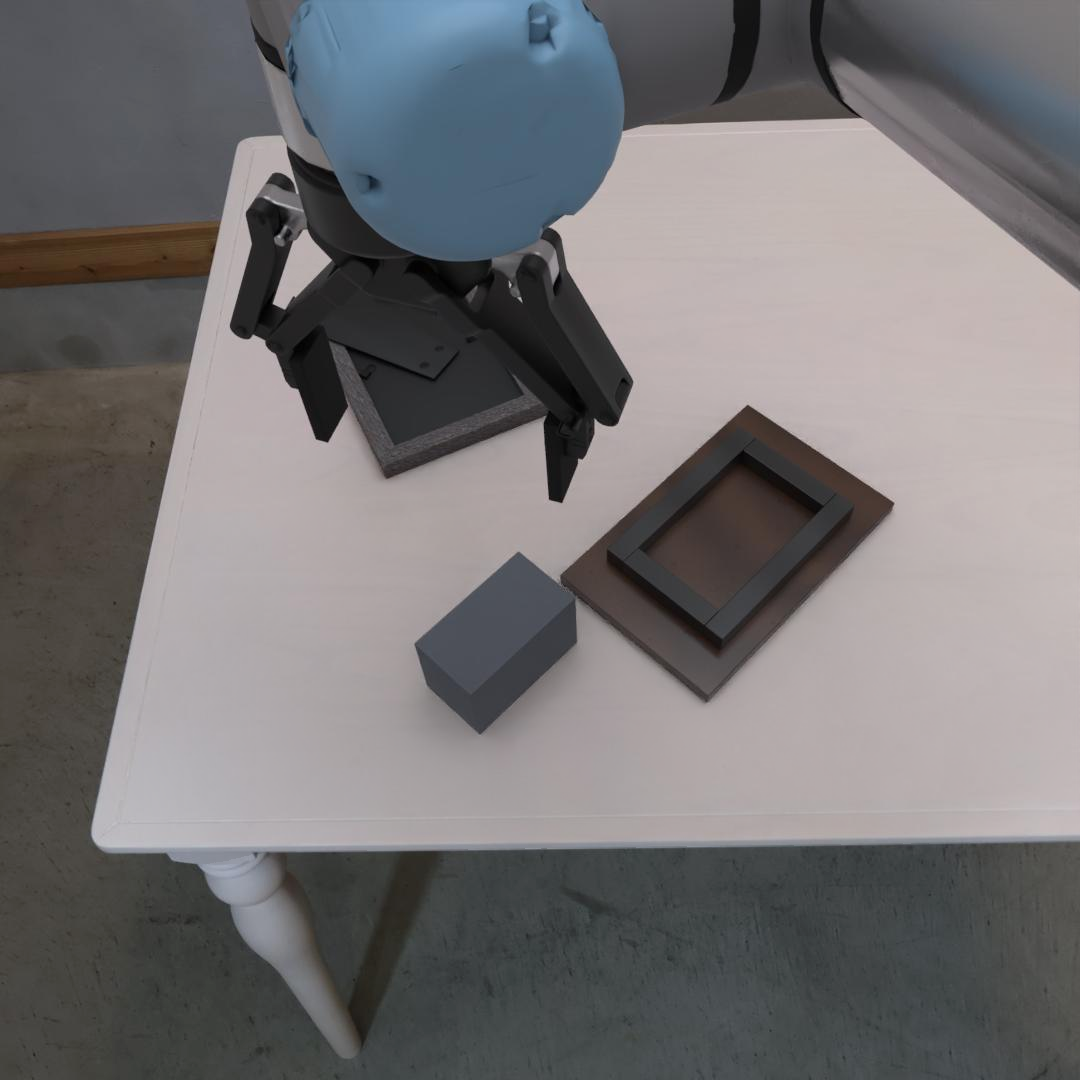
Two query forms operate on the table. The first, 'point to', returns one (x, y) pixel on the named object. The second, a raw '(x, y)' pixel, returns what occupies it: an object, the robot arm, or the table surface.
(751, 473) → the back plate
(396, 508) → the table surface
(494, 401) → the picture frame
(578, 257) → the table surface
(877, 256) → the table surface
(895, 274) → the table surface
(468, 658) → the pad block
